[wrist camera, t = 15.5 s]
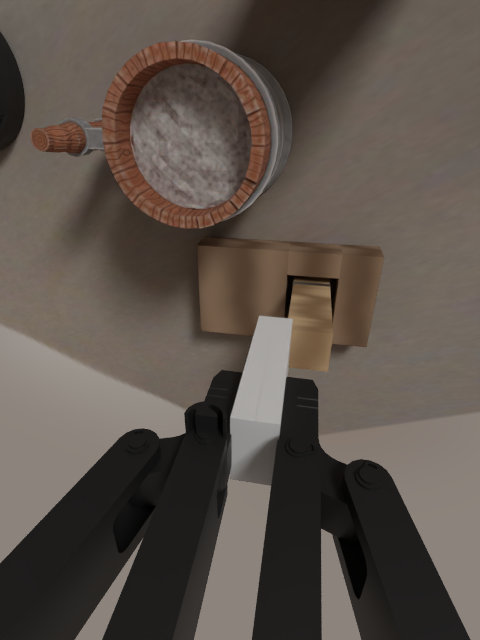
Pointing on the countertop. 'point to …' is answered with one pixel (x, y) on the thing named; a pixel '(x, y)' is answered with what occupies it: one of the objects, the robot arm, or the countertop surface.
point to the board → (284, 283)
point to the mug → (186, 132)
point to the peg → (311, 323)
